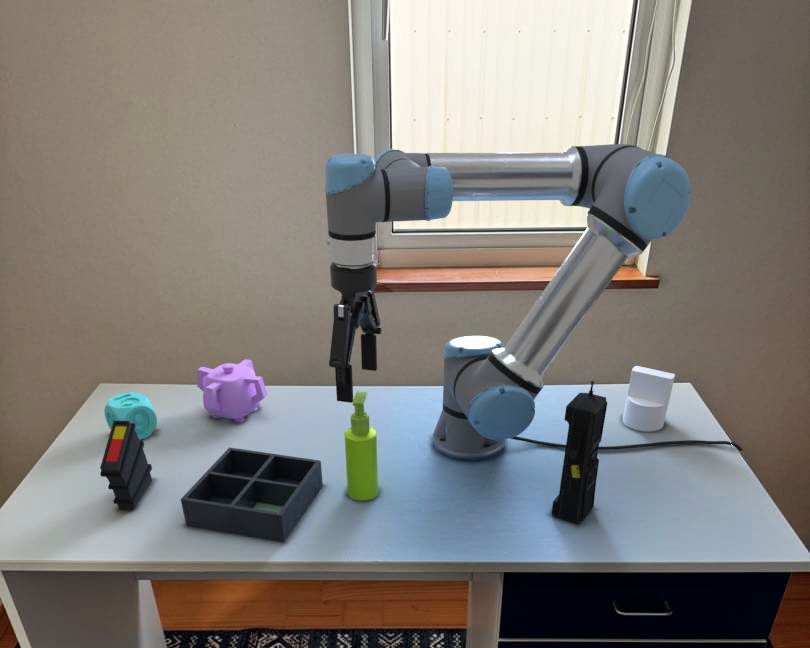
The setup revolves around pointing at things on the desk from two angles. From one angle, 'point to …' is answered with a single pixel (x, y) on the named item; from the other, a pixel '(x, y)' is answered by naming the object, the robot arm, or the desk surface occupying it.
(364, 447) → the soap dispenser
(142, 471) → the black ridged block
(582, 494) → the portable radio
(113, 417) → the decorative dice
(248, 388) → the pot
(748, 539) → the desk surface
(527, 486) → the desk surface
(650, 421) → the cylinder with rectangular tab
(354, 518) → the desk surface
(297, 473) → the rack
